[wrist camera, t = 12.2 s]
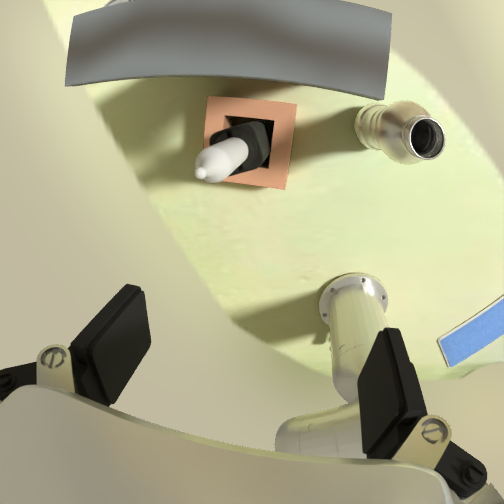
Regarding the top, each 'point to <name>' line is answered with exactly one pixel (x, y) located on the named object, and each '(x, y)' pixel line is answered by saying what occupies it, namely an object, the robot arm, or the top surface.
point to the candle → (234, 151)
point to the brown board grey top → (235, 43)
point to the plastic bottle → (400, 131)
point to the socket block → (284, 117)
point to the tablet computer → (473, 334)
